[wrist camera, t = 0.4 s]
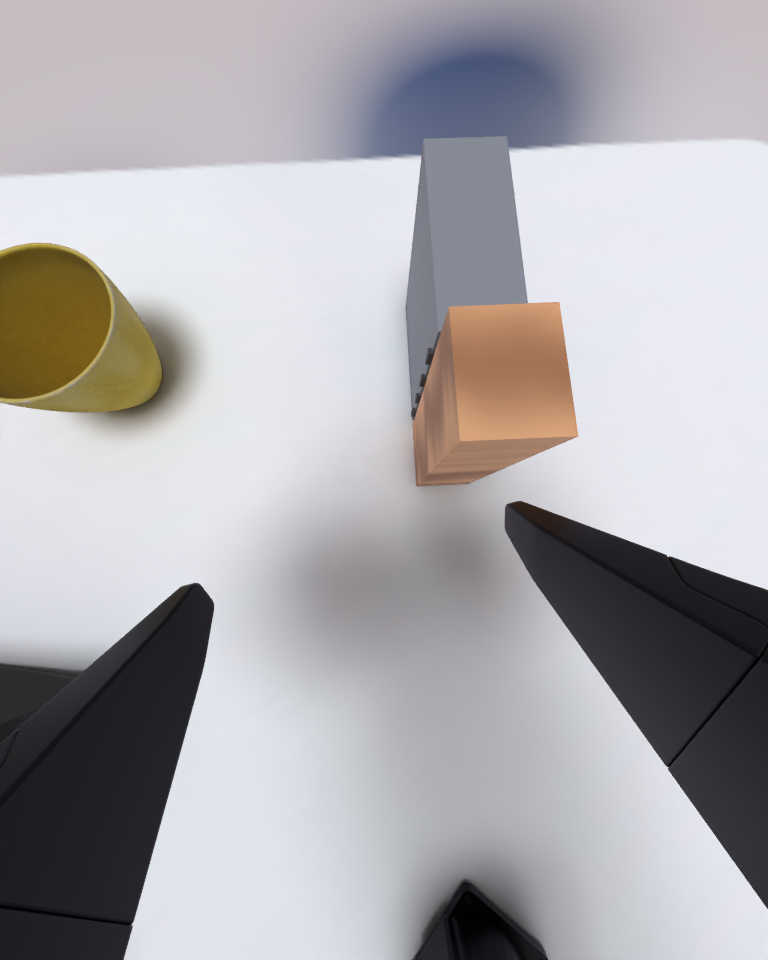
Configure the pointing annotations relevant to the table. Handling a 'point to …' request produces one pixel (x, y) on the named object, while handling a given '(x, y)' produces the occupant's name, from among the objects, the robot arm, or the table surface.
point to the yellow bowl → (70, 335)
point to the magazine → (25, 695)
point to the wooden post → (493, 392)
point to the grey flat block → (460, 242)
